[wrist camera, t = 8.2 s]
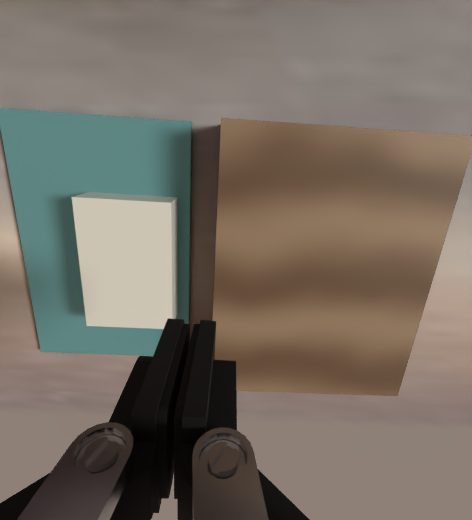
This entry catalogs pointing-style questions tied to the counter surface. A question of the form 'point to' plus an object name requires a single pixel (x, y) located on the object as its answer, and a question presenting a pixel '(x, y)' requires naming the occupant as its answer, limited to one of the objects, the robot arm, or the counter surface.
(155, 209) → the cream rectangular block
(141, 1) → the counter surface
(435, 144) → the wooden box
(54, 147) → the mat
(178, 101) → the counter surface
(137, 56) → the counter surface
